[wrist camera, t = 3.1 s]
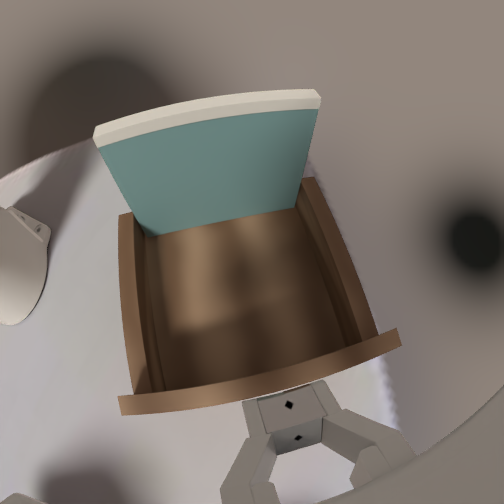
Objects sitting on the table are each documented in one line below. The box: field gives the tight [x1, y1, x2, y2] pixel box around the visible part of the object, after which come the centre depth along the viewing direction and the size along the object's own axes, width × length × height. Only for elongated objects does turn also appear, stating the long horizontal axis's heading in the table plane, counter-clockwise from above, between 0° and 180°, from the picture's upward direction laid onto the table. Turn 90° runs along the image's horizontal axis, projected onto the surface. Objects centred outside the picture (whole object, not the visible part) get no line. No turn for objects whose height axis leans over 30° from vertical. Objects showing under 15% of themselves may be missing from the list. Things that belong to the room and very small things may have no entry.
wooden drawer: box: [118, 177, 402, 415], centre depth 24 cm, size 20×18×10 cm
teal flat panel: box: [93, 89, 322, 237], centre depth 22 cm, size 16×1×14 cm, turn 104°
